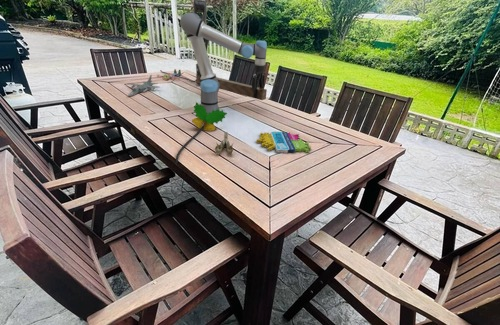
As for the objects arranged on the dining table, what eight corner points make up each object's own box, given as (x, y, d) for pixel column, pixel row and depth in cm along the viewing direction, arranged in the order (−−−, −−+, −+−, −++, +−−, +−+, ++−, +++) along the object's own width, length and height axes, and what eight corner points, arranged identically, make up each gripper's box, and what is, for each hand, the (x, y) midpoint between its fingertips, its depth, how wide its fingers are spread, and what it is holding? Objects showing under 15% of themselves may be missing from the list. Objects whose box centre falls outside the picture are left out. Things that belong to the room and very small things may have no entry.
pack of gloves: (313, 150, 142) (258, 149, 139) (312, 153, 143) (258, 152, 140) (301, 132, 164) (254, 130, 161) (301, 134, 165) (254, 133, 162)
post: (265, 99, 195) (266, 89, 191) (261, 100, 191) (262, 90, 188) (201, 81, 232) (201, 73, 229) (196, 82, 229) (196, 74, 225)
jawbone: (234, 135, 144) (233, 125, 135) (233, 160, 138) (232, 151, 129) (217, 135, 144) (216, 125, 135) (216, 160, 138) (214, 150, 129)
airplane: (122, 86, 238) (120, 75, 233) (157, 84, 251) (156, 73, 246) (126, 99, 210) (124, 86, 204) (166, 95, 223) (165, 83, 218)
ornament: (218, 133, 171) (224, 110, 169) (221, 134, 163) (227, 111, 161) (186, 125, 162) (192, 101, 160) (189, 126, 155) (195, 101, 153)
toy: (189, 70, 290) (176, 74, 264) (189, 77, 293) (177, 81, 267) (166, 67, 295) (151, 71, 269) (167, 74, 298) (152, 78, 272)
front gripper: (263, 62, 193) (260, 94, 205) (247, 65, 180) (246, 98, 192) (271, 64, 189) (268, 96, 201) (256, 66, 177) (254, 100, 188)
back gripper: (206, 58, 224) (206, 78, 233) (193, 59, 214) (194, 80, 223) (212, 59, 221) (212, 80, 229) (199, 60, 211) (200, 82, 219)
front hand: (257, 97), depth 196 cm, fingers closed on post, 5 cm apart
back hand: (203, 80), depth 226 cm, fingers closed on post, 5 cm apart
